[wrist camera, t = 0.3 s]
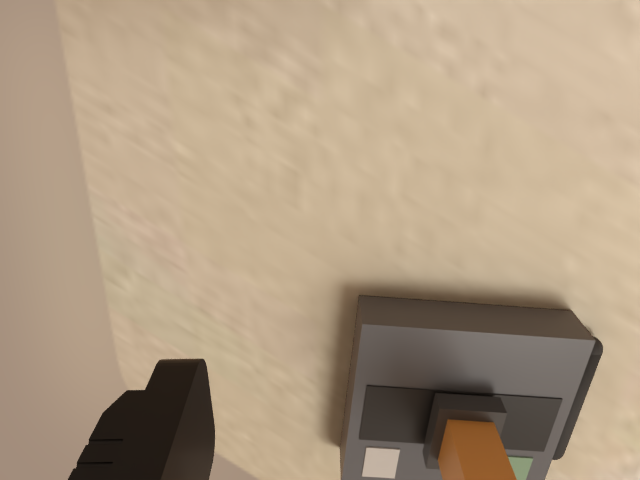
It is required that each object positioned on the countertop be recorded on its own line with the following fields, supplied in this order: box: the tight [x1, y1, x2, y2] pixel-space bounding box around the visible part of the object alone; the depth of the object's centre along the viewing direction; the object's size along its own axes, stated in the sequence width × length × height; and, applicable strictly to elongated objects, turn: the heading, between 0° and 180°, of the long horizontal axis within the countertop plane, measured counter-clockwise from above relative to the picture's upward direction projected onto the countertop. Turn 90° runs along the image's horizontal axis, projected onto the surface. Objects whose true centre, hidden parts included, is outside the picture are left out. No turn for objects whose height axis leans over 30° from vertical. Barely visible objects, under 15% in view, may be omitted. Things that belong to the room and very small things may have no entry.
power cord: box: [552, 336, 603, 460], centre depth 32 cm, size 9×1×1 cm, turn 176°
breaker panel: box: [340, 295, 596, 480], centre depth 31 cm, size 12×12×3 cm
